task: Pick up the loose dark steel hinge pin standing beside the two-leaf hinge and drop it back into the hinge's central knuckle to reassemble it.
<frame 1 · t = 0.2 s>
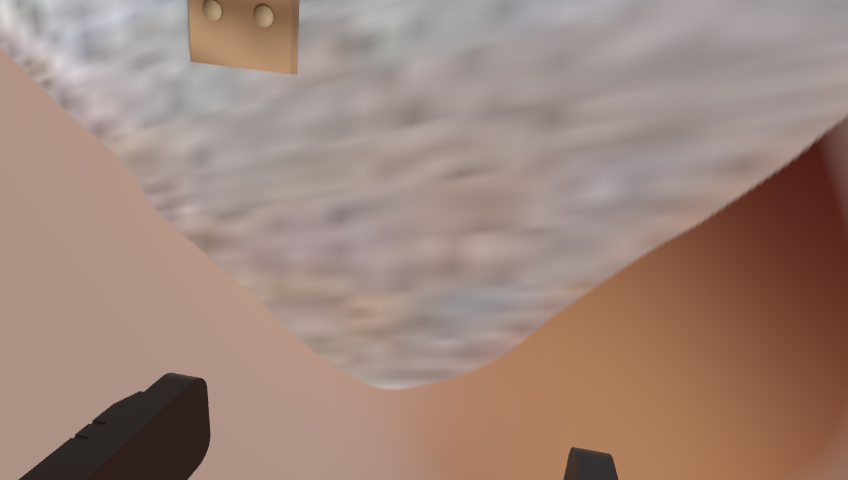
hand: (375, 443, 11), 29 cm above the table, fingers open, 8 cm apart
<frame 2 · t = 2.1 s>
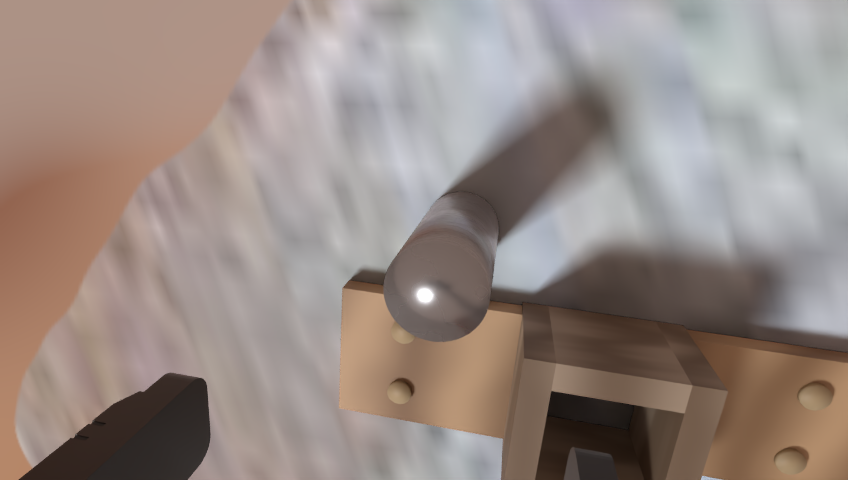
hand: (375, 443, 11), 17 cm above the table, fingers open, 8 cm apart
hinge pin: (461, 227, 27), on the table
hinge: (587, 380, 28), on the table
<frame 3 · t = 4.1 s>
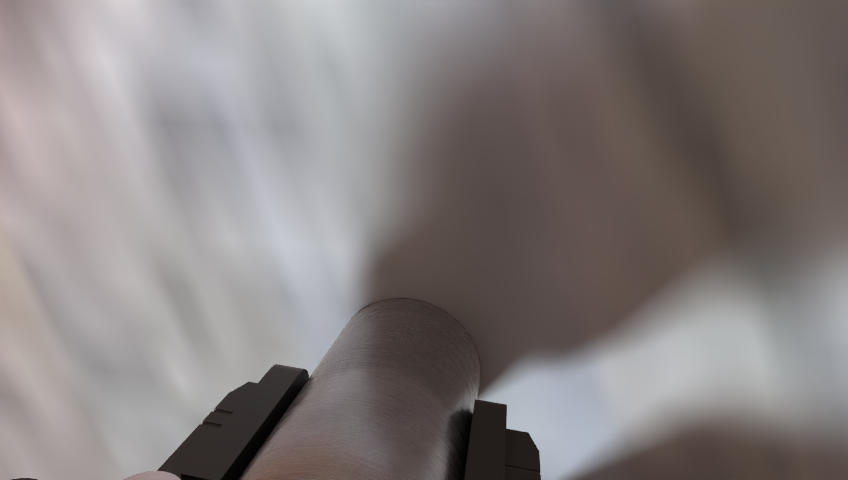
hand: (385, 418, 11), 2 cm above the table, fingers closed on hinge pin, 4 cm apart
hinge pin: (407, 365, 14), on the table, touching gripper
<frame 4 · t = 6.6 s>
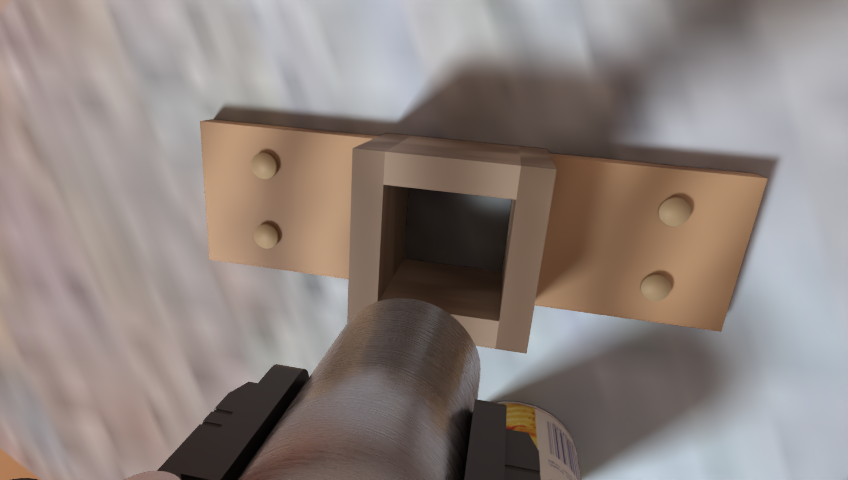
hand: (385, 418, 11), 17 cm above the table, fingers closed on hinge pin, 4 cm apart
canned food: (512, 451, 32), on the table
hinge pin: (407, 365, 14), point 15 cm above the table, touching gripper
hinge: (456, 217, 27), on the table
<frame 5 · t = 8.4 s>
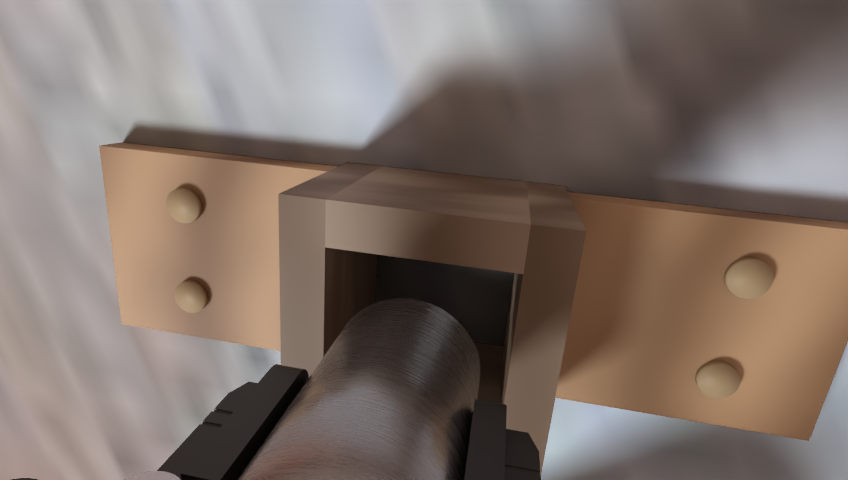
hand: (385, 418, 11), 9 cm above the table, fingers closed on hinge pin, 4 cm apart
hinge pin: (407, 365, 14), point 7 cm above the table, touching gripper
hinge: (443, 275, 20), on the table
when the fingers open (7 cm above the table, at t = 9.5 s): hinge pin drops 4 cm, resting in hinge.
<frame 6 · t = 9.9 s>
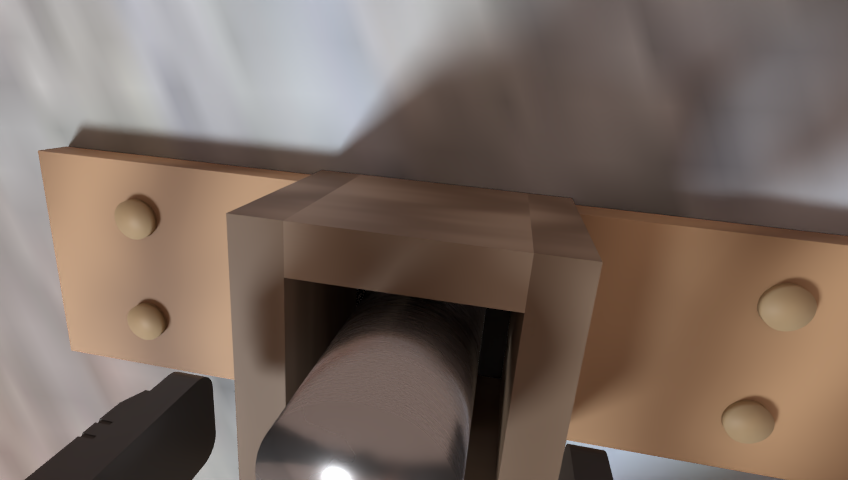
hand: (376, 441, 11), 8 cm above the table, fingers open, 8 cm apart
hinge pin: (430, 298, 18), resting in hinge
hinge: (432, 298, 18), on the table
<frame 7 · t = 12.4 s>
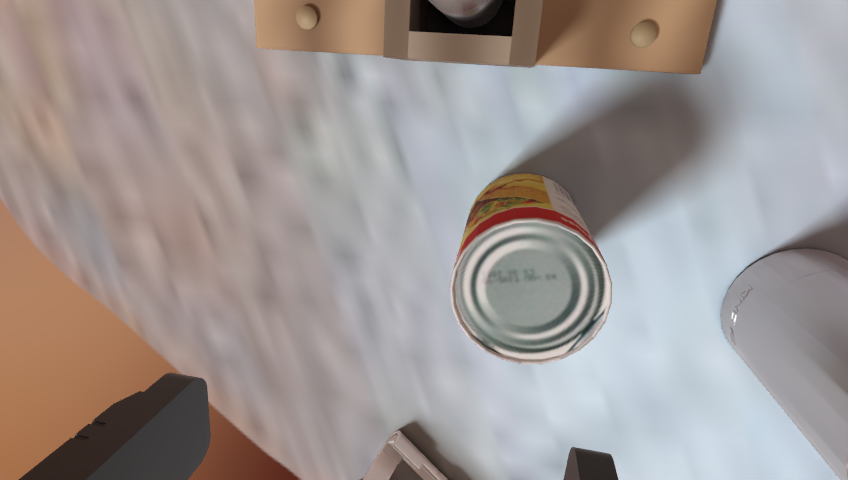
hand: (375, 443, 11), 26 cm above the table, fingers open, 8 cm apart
canned food: (522, 225, 36), on the table
portable electronic device stand: (403, 478, 45), on the table
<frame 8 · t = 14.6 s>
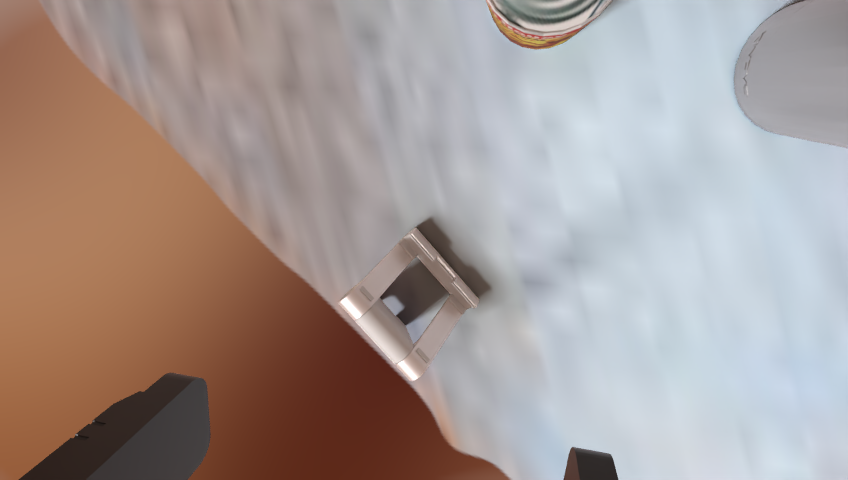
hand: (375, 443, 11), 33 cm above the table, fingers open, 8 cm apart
portable electronic device stand: (417, 284, 46), on the table
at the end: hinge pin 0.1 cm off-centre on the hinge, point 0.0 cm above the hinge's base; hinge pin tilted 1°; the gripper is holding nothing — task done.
